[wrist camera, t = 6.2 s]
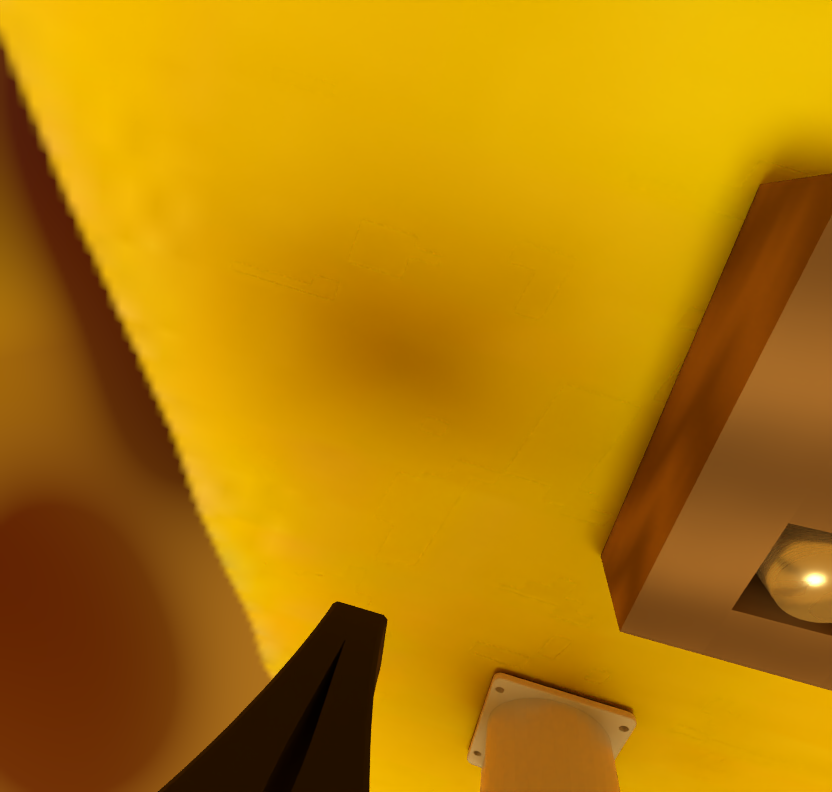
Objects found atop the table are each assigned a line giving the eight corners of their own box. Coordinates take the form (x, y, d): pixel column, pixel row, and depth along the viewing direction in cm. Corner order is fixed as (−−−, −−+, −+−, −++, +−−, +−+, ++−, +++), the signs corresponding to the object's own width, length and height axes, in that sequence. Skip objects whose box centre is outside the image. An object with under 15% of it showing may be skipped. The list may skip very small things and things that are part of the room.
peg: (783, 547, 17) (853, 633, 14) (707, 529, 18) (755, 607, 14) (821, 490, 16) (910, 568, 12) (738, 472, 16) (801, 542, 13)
